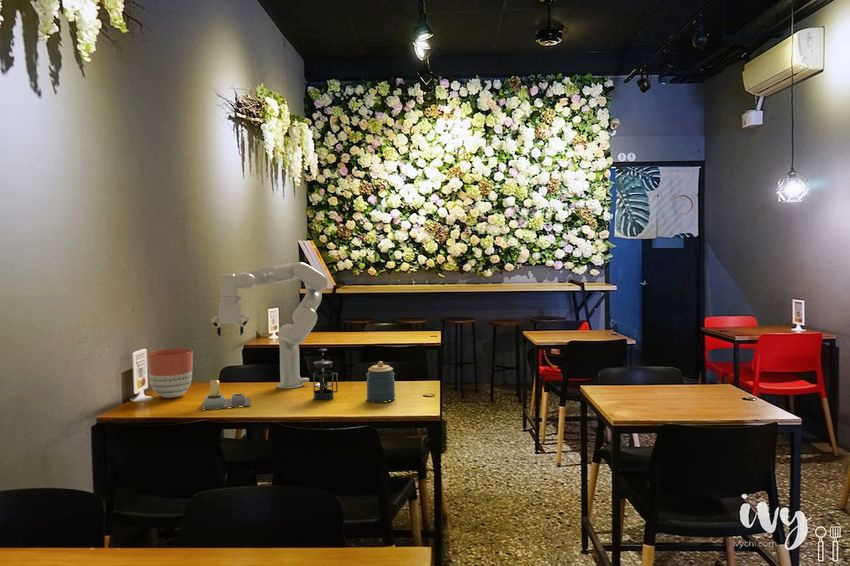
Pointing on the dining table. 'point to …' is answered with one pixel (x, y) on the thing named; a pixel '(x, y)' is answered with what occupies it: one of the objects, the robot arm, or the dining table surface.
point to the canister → (380, 383)
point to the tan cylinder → (214, 389)
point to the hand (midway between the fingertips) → (230, 335)
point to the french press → (323, 380)
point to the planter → (170, 371)
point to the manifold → (225, 401)
